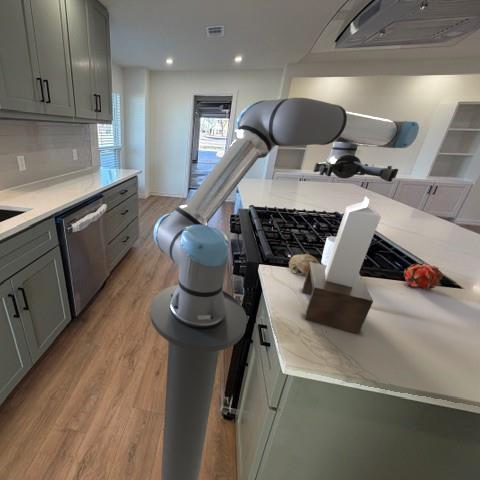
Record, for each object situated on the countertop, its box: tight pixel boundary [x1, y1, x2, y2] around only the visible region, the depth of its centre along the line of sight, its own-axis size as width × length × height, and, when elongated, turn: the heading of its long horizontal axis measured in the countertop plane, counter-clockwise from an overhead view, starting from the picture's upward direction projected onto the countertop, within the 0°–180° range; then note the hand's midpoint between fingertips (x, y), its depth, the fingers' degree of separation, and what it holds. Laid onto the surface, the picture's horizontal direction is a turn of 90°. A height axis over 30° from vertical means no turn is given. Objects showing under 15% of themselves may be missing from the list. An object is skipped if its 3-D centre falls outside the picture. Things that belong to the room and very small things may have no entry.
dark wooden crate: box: [301, 262, 374, 335], centre depth 69 cm, size 12×15×10 cm
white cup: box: [320, 236, 336, 265], centre depth 94 cm, size 8×8×10 cm
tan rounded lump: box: [288, 253, 321, 277], centre depth 90 cm, size 10×10×8 cm
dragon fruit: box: [403, 262, 444, 290], centre depth 82 cm, size 8×8×12 cm
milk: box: [325, 195, 382, 287], centre depth 63 cm, size 6×6×22 cm
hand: (359, 173), depth 67 cm, fingers open, 13 cm apart
